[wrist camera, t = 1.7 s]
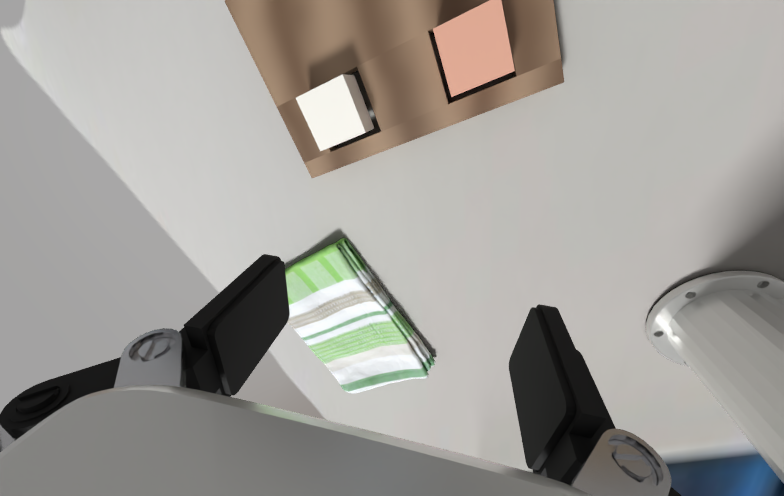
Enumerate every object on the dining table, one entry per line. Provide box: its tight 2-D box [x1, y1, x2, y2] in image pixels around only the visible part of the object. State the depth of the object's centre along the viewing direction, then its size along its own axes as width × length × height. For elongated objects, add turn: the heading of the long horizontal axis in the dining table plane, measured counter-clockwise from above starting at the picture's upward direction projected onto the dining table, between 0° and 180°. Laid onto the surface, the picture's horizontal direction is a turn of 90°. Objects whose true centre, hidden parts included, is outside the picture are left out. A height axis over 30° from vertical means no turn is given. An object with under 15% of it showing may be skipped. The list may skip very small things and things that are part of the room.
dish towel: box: [285, 238, 436, 393], centre depth 42 cm, size 17×23×4 cm
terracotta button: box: [433, 0, 515, 97], centre depth 22 cm, size 5×5×3 cm
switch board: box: [225, 0, 564, 178], centre depth 25 cm, size 24×16×2 cm, turn 111°
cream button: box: [296, 74, 374, 151], centre depth 26 cm, size 5×5×3 cm
